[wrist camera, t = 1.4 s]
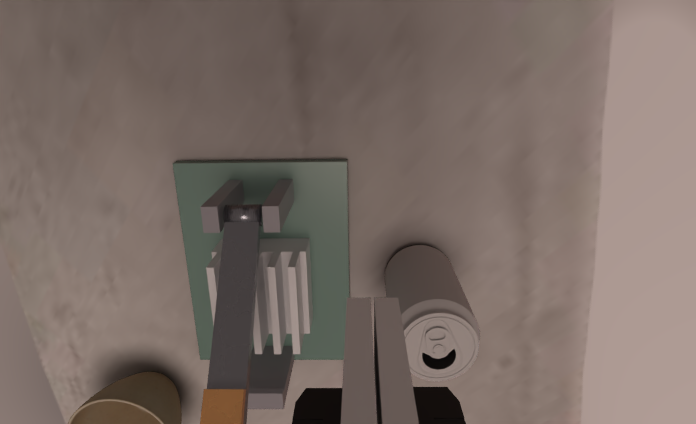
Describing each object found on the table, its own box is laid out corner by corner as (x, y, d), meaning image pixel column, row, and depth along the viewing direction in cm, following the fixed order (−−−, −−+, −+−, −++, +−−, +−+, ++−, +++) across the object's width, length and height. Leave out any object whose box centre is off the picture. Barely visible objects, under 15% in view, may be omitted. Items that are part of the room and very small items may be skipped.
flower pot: (188, 346, 47) (159, 395, 40) (209, 424, 50) (186, 482, 43) (94, 354, 47) (49, 405, 40) (121, 431, 50) (84, 489, 44)
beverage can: (388, 306, 45) (398, 392, 33) (379, 246, 42) (387, 315, 31) (454, 298, 44) (487, 382, 33) (448, 236, 42) (481, 303, 31)
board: (177, 161, 40) (131, 187, 32) (347, 159, 40) (344, 185, 32) (203, 353, 47) (171, 415, 39) (350, 353, 46) (348, 415, 38)
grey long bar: (230, 209, 35) (223, 200, 33) (264, 208, 35) (259, 199, 33) (206, 439, 29) (197, 442, 27) (247, 439, 29) (240, 443, 27)
